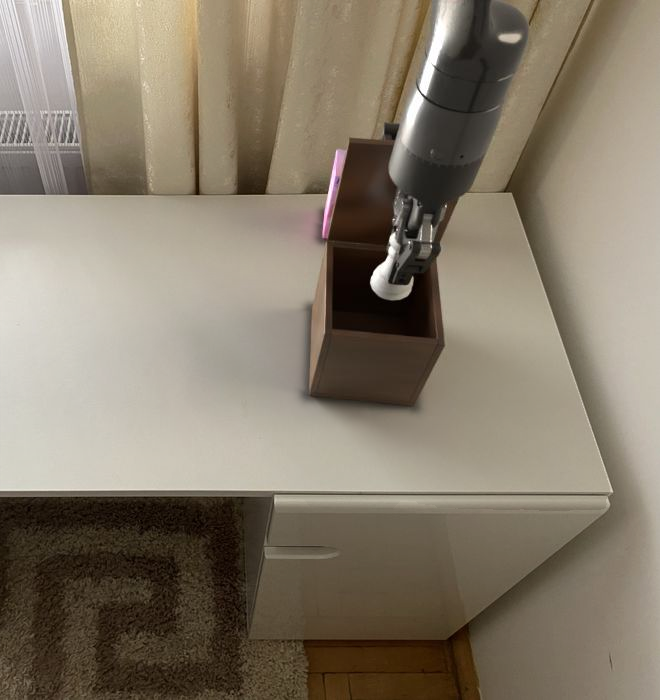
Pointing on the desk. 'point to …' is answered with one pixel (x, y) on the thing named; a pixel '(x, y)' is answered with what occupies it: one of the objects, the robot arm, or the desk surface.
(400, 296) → the rook chess piece
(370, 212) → the lid
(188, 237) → the desk surface
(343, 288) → the chest
